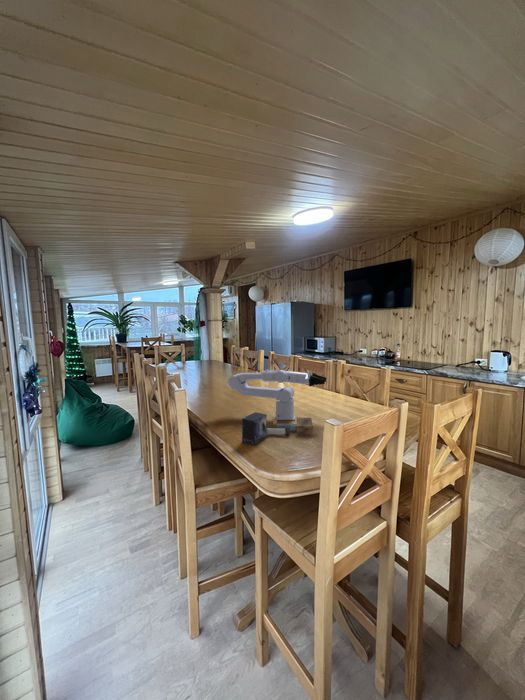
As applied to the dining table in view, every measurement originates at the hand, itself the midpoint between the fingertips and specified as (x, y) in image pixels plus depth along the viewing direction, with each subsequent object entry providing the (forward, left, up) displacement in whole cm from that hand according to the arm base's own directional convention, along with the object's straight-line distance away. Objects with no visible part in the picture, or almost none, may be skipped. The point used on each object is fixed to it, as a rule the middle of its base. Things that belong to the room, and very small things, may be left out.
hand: (325, 380), depth 153 cm
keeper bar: (-24, -20, -20) cm, 37 cm away
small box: (-32, -26, -21) cm, 47 cm away
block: (-11, -14, -21) cm, 27 cm away
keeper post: (-18, -20, -21) cm, 34 cm away
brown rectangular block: (-19, -14, -21) cm, 32 cm away
